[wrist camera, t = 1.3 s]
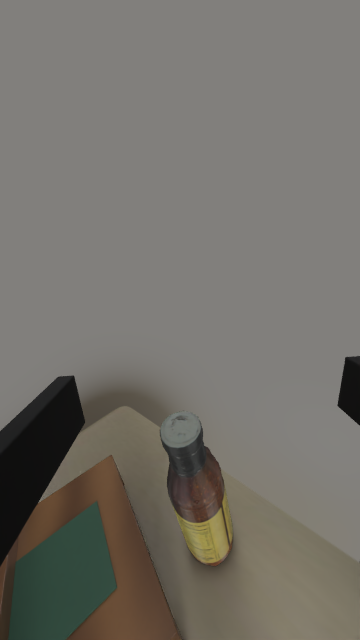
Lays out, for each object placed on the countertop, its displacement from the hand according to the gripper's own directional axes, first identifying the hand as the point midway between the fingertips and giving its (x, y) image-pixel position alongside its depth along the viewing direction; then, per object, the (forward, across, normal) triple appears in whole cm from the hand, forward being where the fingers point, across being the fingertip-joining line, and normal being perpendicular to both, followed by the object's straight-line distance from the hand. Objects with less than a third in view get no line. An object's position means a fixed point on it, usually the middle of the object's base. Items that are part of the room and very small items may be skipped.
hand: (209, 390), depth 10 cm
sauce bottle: (+9, 0, -28) cm, 30 cm away
